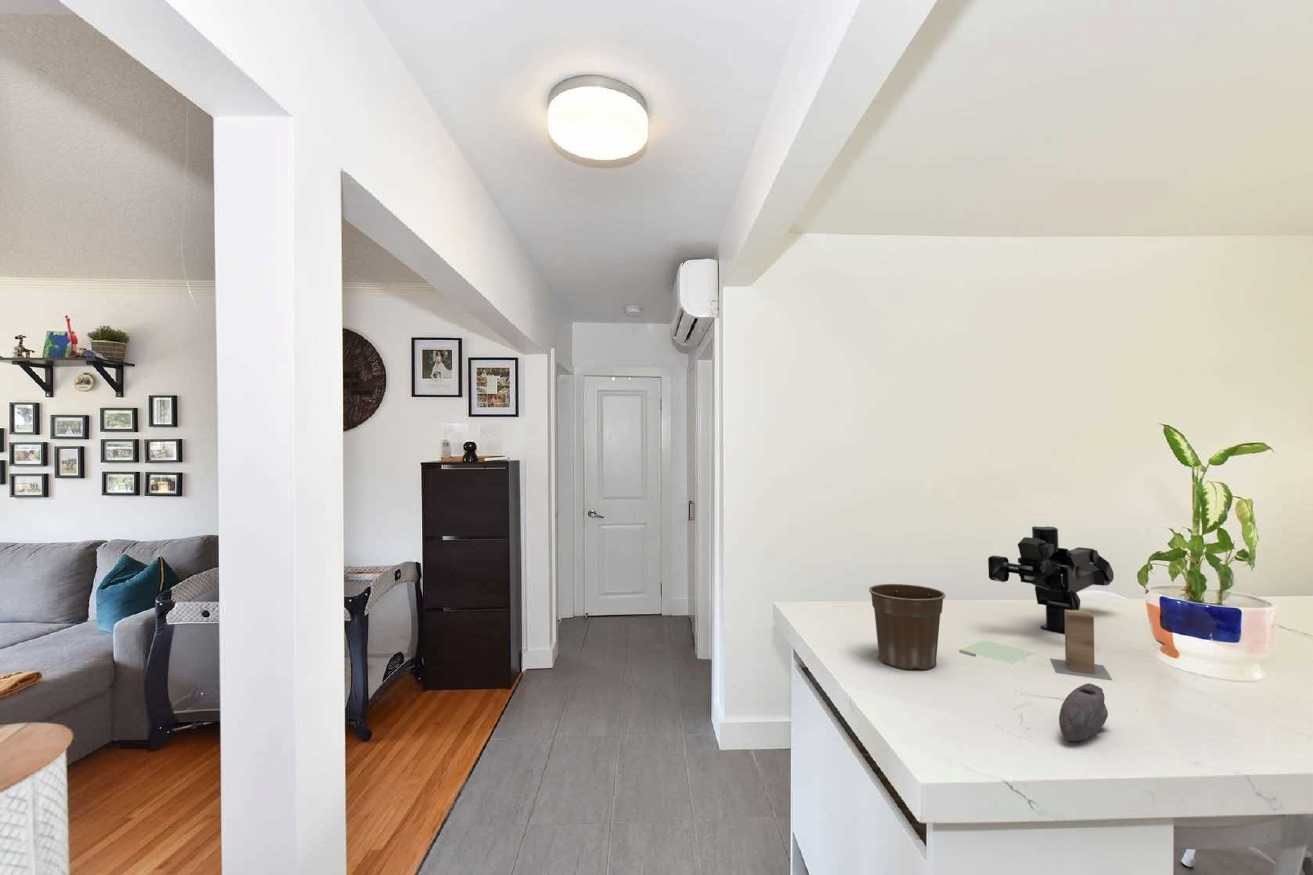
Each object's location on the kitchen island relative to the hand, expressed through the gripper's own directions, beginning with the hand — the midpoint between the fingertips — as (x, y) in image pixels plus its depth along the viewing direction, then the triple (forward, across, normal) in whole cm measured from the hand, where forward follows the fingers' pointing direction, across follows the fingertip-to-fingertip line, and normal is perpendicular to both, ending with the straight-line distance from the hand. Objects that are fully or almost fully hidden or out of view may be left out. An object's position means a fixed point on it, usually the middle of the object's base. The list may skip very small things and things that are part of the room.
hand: (1012, 578), depth 149 cm
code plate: (+6, +16, +16) cm, 24 cm away
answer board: (+8, 0, +16) cm, 18 cm away
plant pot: (+30, -10, +16) cm, 35 cm away
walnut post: (+6, +16, +16) cm, 23 cm away
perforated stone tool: (+38, +28, +15) cm, 50 cm away
